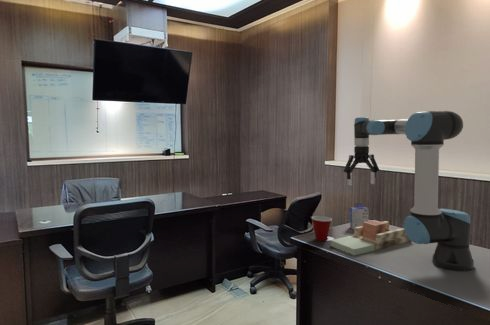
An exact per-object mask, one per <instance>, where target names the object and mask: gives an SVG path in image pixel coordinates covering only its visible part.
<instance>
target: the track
mask: <svg viewBox="0 0 490 325" xmlns="http://www.w3.org/2000/svg"><path fill="white" fill-rule="evenodd" d="M382 222H383V223H386V232H383V233H379V234H376V240H372V239H369V238H366V237H363V226H359V227H354V229H353V232H354V233H353V234H352V235H351V236H352V237H354V238H357V239H360V240H363V241H366V242H369V243H372V244H374V251H378V250H381V249H386V248H390V247H394V246H397V245H398V246H399V245H400V244H404V243H410V242H412V241H411V240H410V239H409V238H408V236H407V235H406V233H405V230H404V227H402V228H397V229H392V228H390V221H388V220H385V221H383V220H382Z"/></svg>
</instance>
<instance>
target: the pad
mask: <svg viewBox="0 0 490 325" xmlns="http://www.w3.org/2000/svg"><path fill="white" fill-rule="evenodd" d="M330 246H331V247H333V248H335V249H338V250H339V249H340V251H343V252H344V251H345V253H346V254H349V253H350V255H352V256H354V257H355V256H360V255H361V254H362V255H363V254H367V253H369V252H375V250H374V244H372V243H369V242H366V241H363V240H360V239H357V238H354V237H352V235H348V236H344V237H343V236H342V237H339V238H335V239H330Z"/></svg>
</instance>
